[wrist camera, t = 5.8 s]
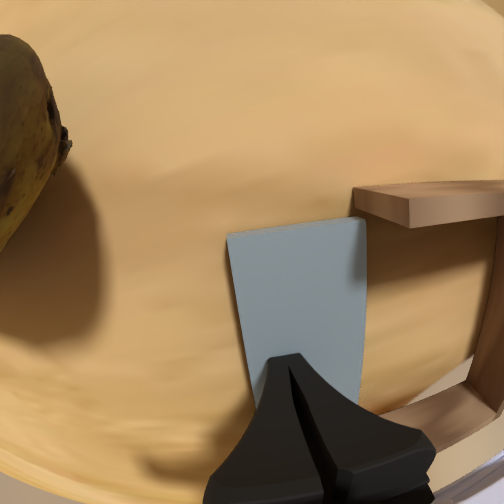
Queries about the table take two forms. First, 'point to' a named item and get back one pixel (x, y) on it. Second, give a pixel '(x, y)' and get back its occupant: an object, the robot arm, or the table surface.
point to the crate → (496, 316)
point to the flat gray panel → (303, 298)
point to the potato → (25, 133)
